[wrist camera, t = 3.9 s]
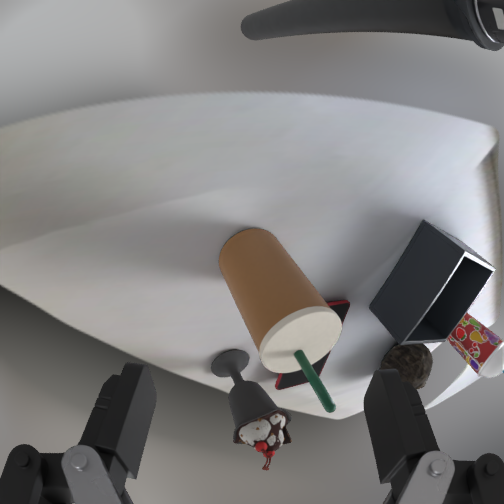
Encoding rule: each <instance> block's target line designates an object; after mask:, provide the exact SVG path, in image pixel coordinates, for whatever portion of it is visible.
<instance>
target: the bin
mask: <svg viewBox="0 0 504 504" xmlns="http://www.w3.org/2000/svg"><path fill="white" fill-rule="evenodd" d="M495 269H496V268H495V267H493V266H492V265H491V264H490V263H489V262H487V261H486V260H485V259H484V258H482V257H481V256H480V255H479V254H477V253H476V252H475V251H474V250H472V249H471V248H470V247H468V246H467V245H466V244H464V243H463V242H461V241H460V240H458V239H456V238H455V237H453V236H451V235H450V234H448V233H446V232H445V231H443V230H441V229H439V228H438V227H436V226H434V225H432V224H430V223H429V222H427V221H425V220H423V221H422V223H421V225H420V227H419V228H418V230H417V232H416V234H415V235H414V237H413V239H412V240H411V242H410V244H409V245H408V247H407V249H406V250H405V252H404V254H403V255H402V257H401V259H400V260H399V262H398V263H397V265H396V267H395V268H394V270H393V271H392V273H391V274H390V276H389V278H388V279H387V281H386V282H385V284H384V285H383V287H382V288H381V290H380V291H379V293H378V294H377V296H376V297H375V299H374V300H373V302H372V303H371V305H370V306H369V309H370V310H371V311H372V312H373V314H374V315H375V316H376V317H377V318H378V319H379V321H380V322H381V323H382V324H383V325H384V326H385V328H386V329H387V330H388V331H389V332H390V334H391V335H392V336H393V337H394V338H395V340H396V341H397V342H398V343H399V344H400V345H408V344H423V343H435V342H445V341H446V340H447V338H448V337H449V336H450V334H451V333H452V332H453V331H454V329H455V328H456V327H457V325H458V324H459V323H460V321H461V320H462V319H463V317H464V316H465V314H466V313H467V312H468V310H469V309H470V307H471V306H472V305H473V303H474V302H475V300H476V299H477V297H478V296H479V294H480V293H481V291H482V290H483V288H484V287H485V285H486V284H487V282H488V281H489V279H490V277H491V276H492V274H493V273H494V271H495Z"/></svg>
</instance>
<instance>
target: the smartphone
mask: <svg viewBox="0 0 504 504" xmlns="http://www.w3.org/2000/svg"><path fill="white" fill-rule="evenodd" d="M327 304H328V306H329V307H330V308H331V309H332V310H333V311H334V312H335V313H336V314H337V315H338V317H339V318H340V320H341V323H342V324H343V322H344V319H345V317H346V314H347V312H348V309H349V307H350V302H349V301H348V300H340V301H334V302H328V303H327ZM330 352H331V350H330V351H329V352H328V353H327V354H326V355H325V356H324V357H322V358H321V359H320V360H318V361H317V362H315V363H313V364H312V367H313V369H314V370H315V372H316V374H317V375H318V377H319V376H320V373H321V371H322V369H323V367H324V365H325V363H326V360H327V358H328V356H329V354H330ZM307 382H309V381H308V379H307V377H306V376H305V374H304V372H303V370H302V369H301V370H298V371H294V372H289V373H279V376H278V379H277V381H276V384H275V387H276V389H278V390H281V389H285V388H289V387H293V386H296V385H300V384H304V383H307Z"/></svg>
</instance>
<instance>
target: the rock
mask: <svg viewBox="0 0 504 504" xmlns="http://www.w3.org/2000/svg"><path fill="white" fill-rule="evenodd" d="M432 363H433V360H432V355H431V353H430V351H429V349H428V348H427V347H426V346H425V345H424V344H408V345H400V344H398V345H397V346H394V347H393V348H392V349H391V350H390V351H389V352H388V353H387V354H386V355H385V357H384V359H383V360H382V362H381V367H380V369H379V370H385V369H397V370H398V372H399V375H400V377H401V380H402V382H407V381H409V382H410V383H411V385H412V386H413V387H414V388H415V389H416V390H417V389H420V388H422V387H424V386H425V384H426V381H427V379H428V377H429V375H430V371H431V368H432Z"/></svg>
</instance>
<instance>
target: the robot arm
mask: <svg viewBox="0 0 504 504" xmlns="http://www.w3.org/2000/svg"><path fill="white" fill-rule="evenodd" d="M472 4H473V9H474V13H475V17H476V20H477V23H478V25H479V27H480V29H481V31H482V32H483V34H484V35H485V36H486V38H487V39H489V40H490V41H492V42H496V43H503V44H504V0H472ZM155 405H156V389H155V386H154V383H153V380H152V376H151V373H150V370H149V367H148V365H146V364H137V363H130V362H127V363H126V364H125V366H124V368H123V370H122V373H121V375H120V376H119V375H112V376H111V377H110V378H109V379H108V380H107V381H106V382H105V383H104V384H103V386H102V389H101V391H100V393H99V398H97V400H96V403H95V407H94V408H93V410H92V413H91V415H90V418H89V420H88V422H87V425H86V427H85V430H84V432H83V435H82V437H81V440H80V442H79V443H78V445H77V446H73V447H71V448H69V449H68V450H67V451H66V452H65V453H39V452H38V451H37V450H36V449H35V448H34V447H32V446H30V445H27V444H23V445H18V446H16V447H15V448H14V449H13V450H12V451H11V452H10V454H9V456H8V459H7V461H6V464H5V467H4V470H3V473H2V475H1V478H0V504H72V503H75V504H133V502H132V500H131V498H130V496H129V494H128V492H127V491H126V489H125V487H124V486H125V482H126V478H127V477H128V478H132V479H136V478H137V474H138V470H139V466H140V461H141V458H142V454H143V450H144V446H145V443H146V439H147V435H148V431H149V428H150V424H151V420H152V416H153V413H154V409H155ZM364 412H365V416H366V420H367V424H368V428H369V433H370V437H371V441H372V445H373V450H374V455H375V459H376V464H377V469H378V474H379V479H380V483H381V484H384V483H389V482H391V486H392V489H391V490H390V492H389V494H388V495H387V497H386V499H385V501H384V502H383V504H504V463H503V461H502V460H501V458H500V457H499V456H497V455H495V454H491V453H487V454H484V455H482V456H480V457H479V458H478V459H477V460H476V461H457V460H452V459H451V457H450V456H449V455H447V454H446V453H444V452H441V451H440V449H439V448H438V445H437V442H436V439H435V436H434V434H433V431H432V428H431V425H430V423H429V420H428V417H427V415H426V414H425V409H424V406H423V405H422V401H421V399H420V396H419V394H418V391H417V390H416V389H415V388H414V387H413V386H412V385H411V383H410V382H409V381H407V382H402V380H401V377H400V375H399V372H398V370H397V369H385V370H376V371H375V372H374V374H373V377H372V379H371V382H370V384H369V387H368V389H367V391H366V394H365V397H364Z"/></svg>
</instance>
